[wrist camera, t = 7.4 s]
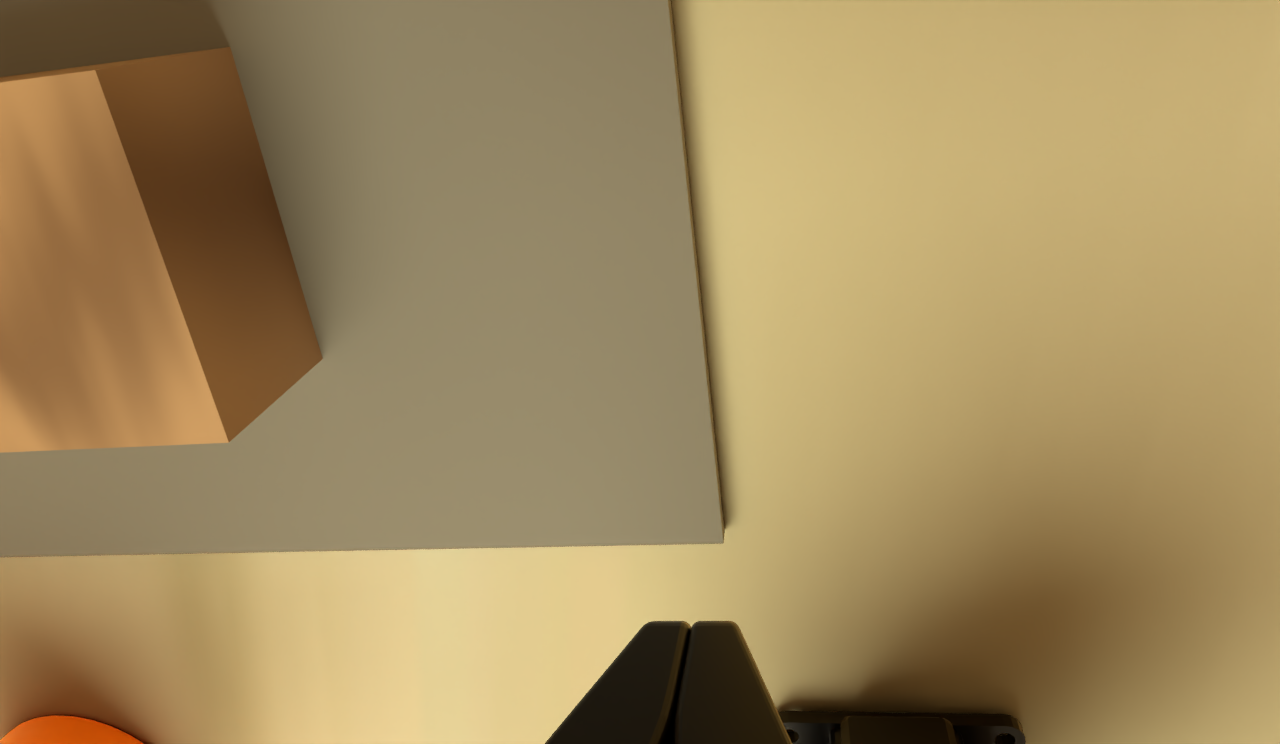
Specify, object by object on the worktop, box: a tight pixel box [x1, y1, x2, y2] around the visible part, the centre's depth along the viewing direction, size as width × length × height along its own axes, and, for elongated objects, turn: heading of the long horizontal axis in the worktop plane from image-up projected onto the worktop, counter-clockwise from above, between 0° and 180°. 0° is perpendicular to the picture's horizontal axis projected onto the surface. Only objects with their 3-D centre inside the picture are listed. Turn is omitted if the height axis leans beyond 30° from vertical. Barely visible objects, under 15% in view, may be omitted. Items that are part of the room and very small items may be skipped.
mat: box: [0, 0, 725, 557], centre depth 20 cm, size 18×22×1 cm
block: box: [0, 47, 323, 453], centre depth 19 cm, size 7×4×9 cm
